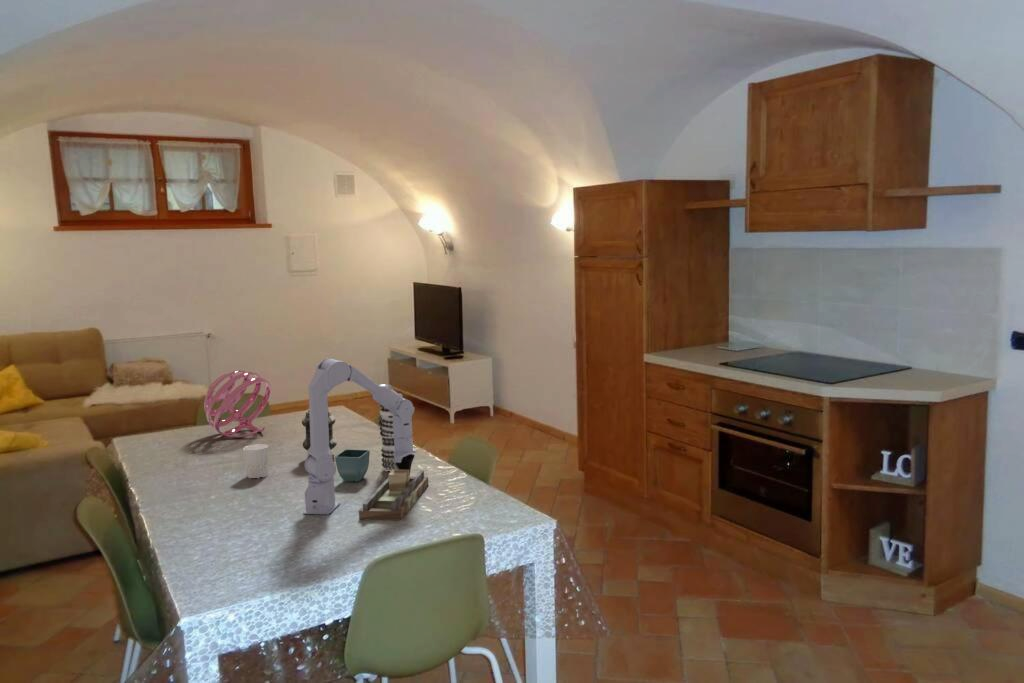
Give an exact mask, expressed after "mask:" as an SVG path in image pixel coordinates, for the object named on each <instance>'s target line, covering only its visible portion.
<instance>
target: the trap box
mask: <svg viewBox="0 0 1024 683" xmlns="http://www.w3.org/2000/svg"><path fill="white" fill-rule="evenodd" d="M424 472H425V471H424V470H419V471H418V473H416V474H415V476H409V477H410V483H409V484H408V485H407V487H406V488H405V489H404V490H403V491H392V490H389V476H388V477H387V478H386V479H385V480H384V481H383V483H381V485H380V486H378V487H377V489H376V490H374V492H373V493H372V494H371V495H370V496H369V497H368V498H367V499H366V500H365V501H364V502H363V503H362V507H361V508H360V509H359V510H358V520H363V519H370V520H369V521H372V520H373V521H401V520H402V519H403V518H404V516H406V514H407V513H408V511H409V510H410V509H411V508H412V506H413V505H414V503H415V502H416V501H417V500H418V499H419V497H420V496H421V495H422V494H423V492H424V491H425V490H426V488H427V487H428V486H429V476H425V473H424ZM427 485H428V486H427ZM426 486H427V487H426ZM423 490H424V491H423ZM422 491H423V492H422ZM420 494H421V495H420ZM419 495H420V496H419ZM417 498H418V499H417Z"/></svg>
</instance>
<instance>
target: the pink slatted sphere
mask: <svg viewBox="0 0 1024 683" xmlns="http://www.w3.org/2000/svg"><path fill="white" fill-rule="evenodd" d="M235 374H237V375H235ZM253 375H254V377H253V378H250V376H253ZM227 378H229V380H227V381H226V382H225V383H224V384H223V385H221V386H220V387H219V389H218V390H217V391H216V392H215V389H216V388H217V387H218V386H219V385H220V384H221V383H222V382H223V381H224V380H226V379H227ZM240 379H242V383H241V384H239V385H238V386H237V387H236V388H234V387H235V385H236V382H237V381H239V380H240ZM263 383H266V384H265V385H266V389H265V392H264V396H263V398H262V399H261V402H260V403H259V405H258V407H257V408H256V409H255V410H254V411H253V412H252V413H251V415H249V416H248V417H247V418H245V417H244V414H245V413H246V412H247V411H248V410H249V409H250V408H251V406H252V405H253V404H254V402H255V401H256V400H257V398H258V396H259V394H260V392H261V388H262V384H263ZM254 384H255V386H254V389H253V391H252V392H251V395H250V396H249V398H248V399H247V400H246V401H245V402H244V404H243V405H242V406H241V407H240V408H239V409H235V405H236V404H237V403H238V402H239V401H240V400H241V399H242V398H243V396H244V395H245V393H246V391H247V389H248V388H249V387H251V386H252V385H254ZM214 392H215V393H214ZM271 393H272V386H271V384H270V383H269V381H268V380H267V379H266V378H263V377H261V376H260V375H259V374H258V373H256V372H254V371H245V370H242V369H240V370H234V371H230V372H228V373H224V374H223V375H220V376H219V377H217V378H216V379H214V381H213V382H212V383H211V385H210V386H209V388H208V389H207V392H206V395H205V398H204V403H203V407H204V412H205V415H206V420H207V422H208V423H209V425H210V426H211V427H212V428H213V429H214V430H215V431H216V432H217V433H219V434H220V435H222V436H224V437H227V438H230V439H244V438H247V437H251V436H253V435H254V434H256V433H262V432H264V431H265V430H266V427H262V428H258V427H257V426H255V425H253V424H252V423H253V422H254V420H255V419H256V418H258V416H259V415H260V414H261V412H262V411H263V410H264V408H266V407H265V406H266V405H267V404H268V402H269V399H270V396H271ZM219 401H222V403H221V404H220V406H218V408H215V409H213V408H214V406H215V404H216V403H218V402H219ZM225 412H229V413H230V416H228V417H227V418H225V419H222V420H221V418H222V416H223V414H224V413H225ZM213 416H214V419H213V418H212V417H213ZM233 422H238V423H239V424H238V425H236V426H235V427H233V428H231V429H228V430H220V428H221V427H225V426H228V425H230V424H231V423H233ZM243 429H248V430H250V431H252V432H249V433H247V434H243V435H233V433H234V434H236V433H238V432H240V431H242V430H243ZM230 434H231V435H230Z"/></svg>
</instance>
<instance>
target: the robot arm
mask: <svg viewBox="0 0 1024 683" xmlns="http://www.w3.org/2000/svg"><path fill="white" fill-rule="evenodd" d="M345 382H354V383H355V384H357V385H359V386H360V387H361V388H363V389H364V390H366V391H368V392H369V393H371V395H372V399H373V401H375V402H377V403H378V404H379V405H380V404H381V405H382V406H384V407H385V408H387V409H388V410H389V411H390V413H392V414H394V415H393V430H394V448H395V450H394V455H395V456H394V462H395V463H396V465H397V466H398V469H399V470H409V477H411V476H410V475H411V468H412V464H413V461H414V458H415V454H416V453H417V452H418V449H416V448H414V442H413V422H412V420H413V419H412V417H413V414H414V413H415V408H416V407H415V406H414V405H413V402H412V401H411V400H410V399H407V398H404V397H403V394H402V393H401V392H399V393H398V392H396V391H395V390H394V389H392V385H390V384H386V383H385V384H384V383H381V384H378V383H377V382H376V381H374V380H373V379H371V378H370V377H369V376H368V375H366V374H365V373H363V372H362V371H361V370H360V369H358V368H357V367H355V366H353V365H351V364H349V363H347V362H346V361H344V360H338V359H335V358H332V357H328V358H327V357H326V358H325V359H323V360H322V361H321V362H319V363H318V364H317V365H316V367H315V372H314V374H313V376H312V378H311V380H310V382H309V385H308V409H309V415H310V443H311V447H310V448H309V449H308V451H307V450H306V452H307V456H306V459H305V461H304V468H305V471H306V472H307V473H308V478H307V479H308V480H307V481H308V482H307V483H308V484H307V487H306V488H305V491H304V503H305V504H304V506H305V510H304V511H302V514H304V515H330V514H331V513H332V512H333V511H334V510H335V509H336V508H337V507H338V506H339V505H341V501H336V494H335V493H336V492H335V478H334V476H335V475H336V472H337V465H336V462H334V459H333V458H332V454H333V453H332V451H331V450H332V449H331V450H330V448H329V428H328V408H329V406H328V405H329V402H328V394H329V393H330V392H331V391H332V390H333V389H334V388H335V387H337V386H340V385H341V384H343V383H345ZM396 415H397V416H396ZM329 513H330V514H329Z"/></svg>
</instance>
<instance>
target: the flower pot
mask: <svg viewBox="0 0 1024 683" xmlns="http://www.w3.org/2000/svg"><path fill="white" fill-rule="evenodd" d="M370 452H371V451H370V450H369V449H347V448H346V449H344V450H342V451H341V452H339V453H338V454H337V455H334V457H335V458H334V459H335V460H334V461H335V466H336V471H337V472H338V474H339V476H340V478H341V479H342V480H343V482H353V481H355V482H354V483H358V482H360V481H361V480H362V479H364V478H365V477H366V474H367V472H368V470H369V464H370V455H371V454H370Z"/></svg>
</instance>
